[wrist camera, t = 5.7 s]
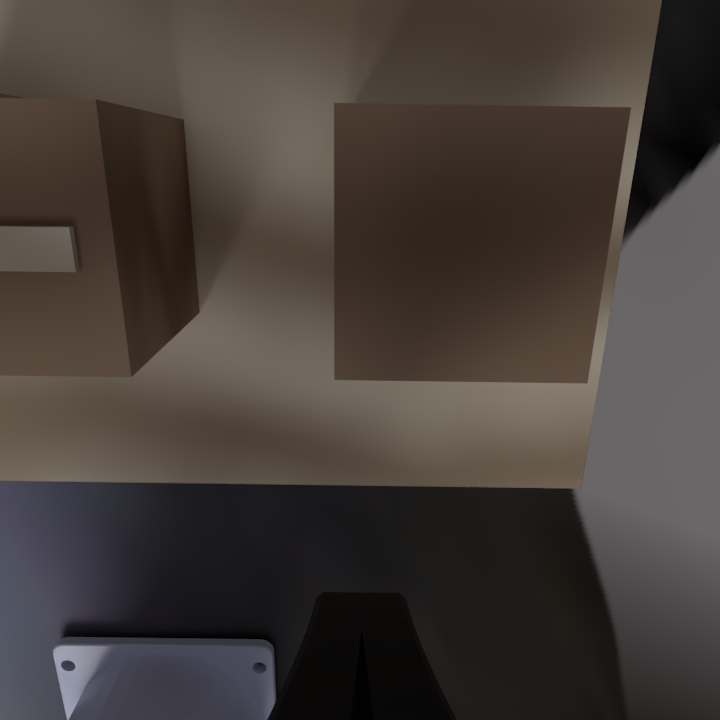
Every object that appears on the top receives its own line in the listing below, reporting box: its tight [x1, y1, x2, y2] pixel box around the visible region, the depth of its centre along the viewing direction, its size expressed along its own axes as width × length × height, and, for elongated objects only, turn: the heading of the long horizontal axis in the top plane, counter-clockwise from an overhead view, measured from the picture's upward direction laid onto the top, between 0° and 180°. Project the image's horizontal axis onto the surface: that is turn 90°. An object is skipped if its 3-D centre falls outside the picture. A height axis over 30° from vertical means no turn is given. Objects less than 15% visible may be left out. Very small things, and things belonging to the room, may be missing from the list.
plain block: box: [334, 103, 631, 383], centre depth 13 cm, size 5×5×5 cm
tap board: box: [0, 0, 662, 488], centre depth 16 cm, size 16×28×1 cm, turn 89°
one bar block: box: [0, 94, 200, 377], centre depth 13 cm, size 5×5×5 cm
